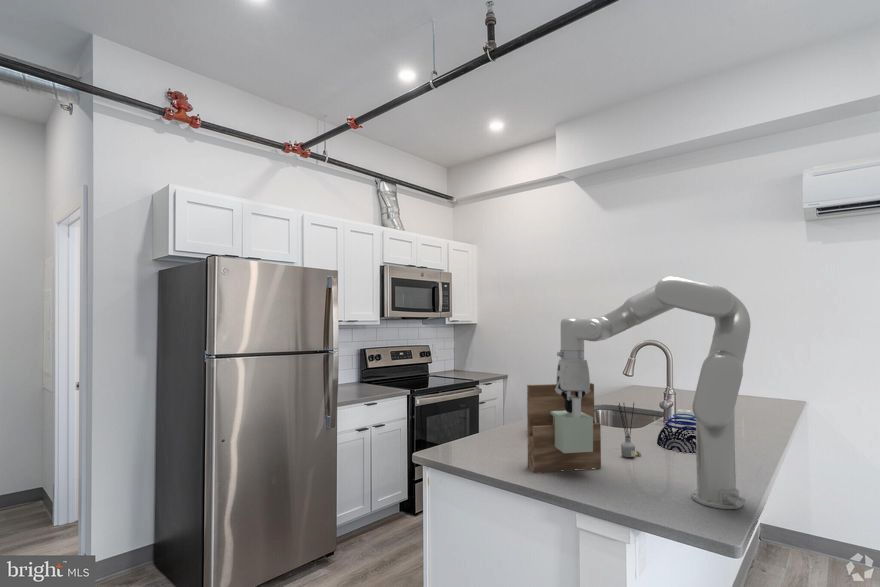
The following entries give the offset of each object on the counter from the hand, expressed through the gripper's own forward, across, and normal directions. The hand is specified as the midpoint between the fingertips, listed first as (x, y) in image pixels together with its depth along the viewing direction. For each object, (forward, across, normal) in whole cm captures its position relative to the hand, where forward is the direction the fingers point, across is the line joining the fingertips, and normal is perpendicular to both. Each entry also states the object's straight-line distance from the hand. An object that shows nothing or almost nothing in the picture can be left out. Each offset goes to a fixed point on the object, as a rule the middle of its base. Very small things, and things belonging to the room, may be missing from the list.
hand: (572, 411), depth 156 cm
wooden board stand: (+20, 0, +7) cm, 22 cm away
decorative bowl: (+21, +59, +22) cm, 67 cm away
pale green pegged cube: (+12, 0, +1) cm, 12 cm away
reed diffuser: (+21, +29, +15) cm, 39 cm away
